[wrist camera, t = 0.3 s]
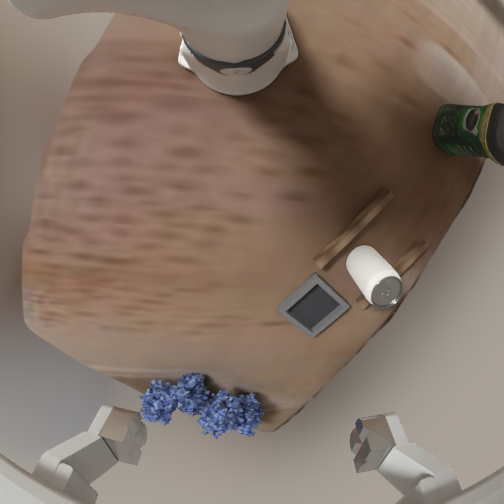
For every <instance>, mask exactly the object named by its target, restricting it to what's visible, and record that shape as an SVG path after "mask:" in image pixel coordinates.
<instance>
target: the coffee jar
mask: <svg viewBox="0 0 504 504" xmlns="http://www.w3.org/2000/svg"><path fill="white" fill-rule="evenodd" d="M433 136H434V139H435V142H436V143H437V145H438V146H439V147H440V148H441V149H442V150H444V151H445V152H446V153H448V154H450V155H457V156H478V157H486V158H490V159H491V160H492V161H494V162H495V163H497V164H499V165H502V166H504V104H502V103H492V104H489V105H486V106H467V105H455V104H446V105H443V106H442V107H441V109H440V111H439V113H438V116H437V119H436V122H435V126H434V131H433Z"/></svg>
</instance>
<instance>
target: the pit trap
mask: <svg viewBox="0 0 504 504" xmlns="http://www.w3.org/2000/svg"><path fill="white" fill-rule="evenodd" d="M349 307H350V305H349V304H348V302H347V301H346V300H345V299H344V298H343V297H342V296H341V295H340V294H339V293H338V292H337V291H335V290H334V289H333V288H332V287H331V286H330V285H329V284H328V283H327V282H326V281H325V280H324V279H323V278H321V277H320V276H319V275H318V274H317V273H316V272H315V273H314V274H313V275H312V276H311V277H310V278H308V279H307V280H306V281H305V282H304V283H303V284H302V285H301V286H300V287H299V288H298V289H296V290H295V291H294V292H293V293H292V294H291V295H290V296H289V297H288V298H286V299H285V300H284V301H283V302H282V303H281V304H280V305H279V306H277V311H278V313H279V314H281V315H282V316H283V317H285V318H286V319H287V320H289V321H290V322H291V323H293V324H294V325H295V326H297V327H298V328H299V329H300V330H302V331H303V332H304V333H306V334H307V335H309V336H310V337H311V338H313V337H315V336H316V335H317V334H318V333H320V332H321V331H322V330H323V329H325V328H326V327H327V326H328V325H329V324H331V323H332V322H333V321H334V320H335V319H337V318H338V317H339V316H340V315H341V314H343V313H344V312H345V311H346V310H347V309H348V308H349Z"/></svg>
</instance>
